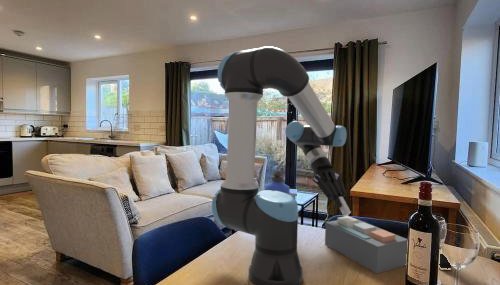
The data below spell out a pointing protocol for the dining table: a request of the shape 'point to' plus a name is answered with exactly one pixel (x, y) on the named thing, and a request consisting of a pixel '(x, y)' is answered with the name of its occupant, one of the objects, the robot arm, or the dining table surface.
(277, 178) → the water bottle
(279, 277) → the robot arm
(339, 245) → the grey boxy piece
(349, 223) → the ivory key
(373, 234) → the terracotta key
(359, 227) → the grey key
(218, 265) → the dining table surface
